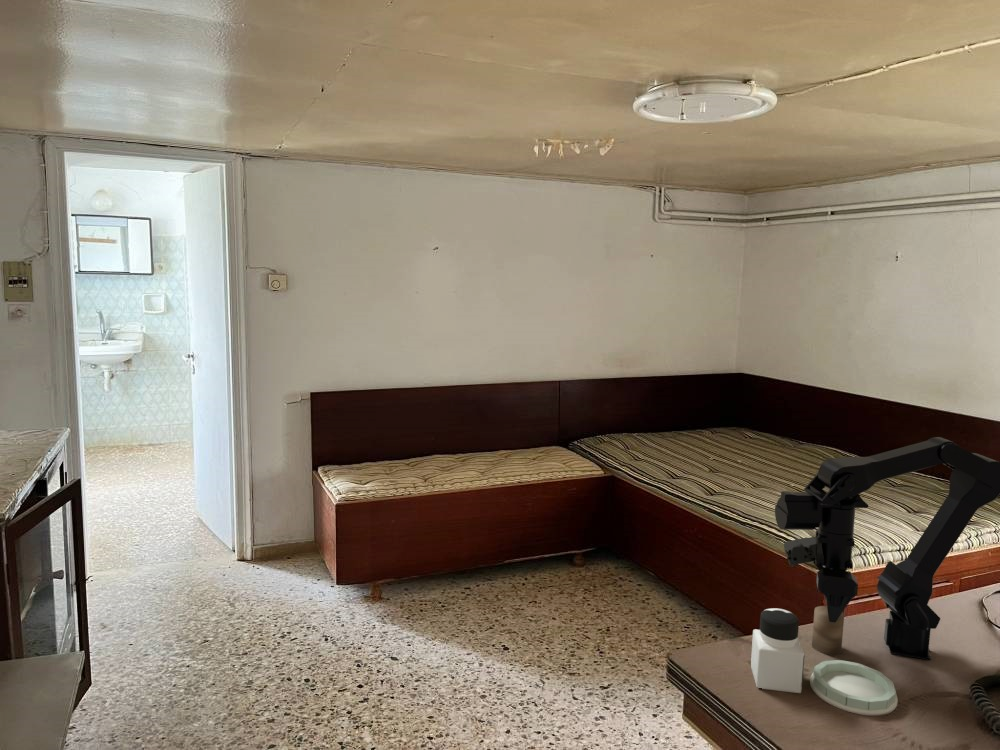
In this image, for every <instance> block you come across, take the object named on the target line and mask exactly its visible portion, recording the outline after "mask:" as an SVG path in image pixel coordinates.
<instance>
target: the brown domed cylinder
mask: <svg viewBox="0 0 1000 750" xmlns="http://www.w3.org/2000/svg"><path fill="white" fill-rule="evenodd" d="M844 623H845V614H844V611H843V612H842V614H841V615H840V617H839V618H838V620H837V621H836V622H835V623H834V622H830V621H829V618H828V610H827V605H819V606H816V607H814V613H813V623H812V624H813V625H812V639H811V647H812V648H813V649H814V650H815V651H816V652H818V653H821V654H825V655H827V656H828V655H829V656H837V655H839V654H840V655H841V653H842V648H843V647H842V646H843V637H844V636H843V635H844V626H845V625H844Z"/></svg>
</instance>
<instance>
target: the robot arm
mask: <svg viewBox="0 0 1000 750" xmlns="http://www.w3.org/2000/svg"><path fill="white" fill-rule="evenodd" d="M939 465H944V466H946V467H948V468H950V469H952V471H951V473H950V476H949V487H948V494H947V496H946V497H945V500H944V501H943V503H942V504H941V506H940V507H939V509H937V512H936V513H935V514H934V515H933V516H934V517H933V518H932V519H931V521H930V522H929V524H928V525H927V527H926V529H925V530H924V532H923V533H922V534H921V536H920V537H919V539H918V541H916V543H915V545H914V547H913V548H912V550H911V551H910V553H909V554H908V556H907V557H906V558H905V559H904V560H902V561H900V562H899V563H897V564H896V563H894V562H893V561H891V560H890V561H888V562H887V563H886V565H885V567H884V569H883V571H882V572H881V574H879V575H878V576H876V578H877V580H878V582H877V584H876V590H877V594H878V596H879V597H880V599H882V600H883V602H884V605H885V607H886V608H887V609H889V616H888V617H889V618H886V619H885V624H884V634H883V639H884V644H885V645H886V646H887V648H888V651H889V653H891V655H892V654H893V655H899V656H902V657H903V656H904V657H909V658H916V659H921V660H928V661H930V660H931V658H932V657H931V654H930V652H929V649H930V641H931V640H930V639H931V629H933V630H934V629H937V628H938V625H939V623H940V621H941V617H940V616H939V615H938V614H937V613H936V612H935V611H934V610H933V609H932V608H931V607H930V606H929V602H930V601H931V597H932V595H933V587H934V586H933V585H934V576H935V574H936V572H937V571H938V569H939V568H940V566H942V563H943V562H944V560H945V559H946V558H947V556H948V555H949V553H950V551H951V550H952V548H953V547H954V546H955V544H956V543H957V540H958V539H959V538H960V536H961V535H962V533H963V532H964V530H965V529H966V527H967V526H968V524H969V523H970V521H971V520H972V518H973V517H974V515H975V514H976V513H977V511H978V510H979V509H980V508H982V507H984V506H986V505H987V504H990V503H991V502H994V501H996V499H997V498H998V497H999V496H1000V461H998V460H995V459H992V458H990V457H987V456H984V455H982V454H980V453H976V452H970V451H968V450H966V449H965V448H962V447H961V446H959V445H958V444H957V443H955V442H954V441H951V440H949V439H946V438H943V437H940V436H937V437H936V436H934V437H930V438H929V439H927V440H924V441H919V442H918V443H913V444H910V445H905V446H902V447H899V448H896V449H891V450H887V451H884V452H880V453H876V454H872V455H869V456H868V455H867V456H842V457H832V458H828V459H825V460H824V461H822V462H821V465H819V468H818V471H817V473H816V474H815V476H813V478H812V479H811V480H810V481H809V482H808V483H807V485H806V486H805V487H804V489H803V490H804V492H803V491H802V492H795V491H794V492H793V491H789V490H788V491H787V490H783V491H781V493H780V497H779V498H778V499H777V502H776V504H775V506H774V515H775V516H774V517H775V522H776V524H777V527H778V528H779V530H782V531H783V530H785V531H786V530H787V531H789V530H794V531H795V530H796V531H800V530H801V531H805V530H806V531H814V530H815V529H816V528H817V530H815V536H811V537H810V536H809V537H803V538H798V539H797V538H796V539H793V540H787V541H785V542H784V543H783V546H784V547H783V549H784V552H785V556H786V559H787V562H788V565H789V566H791V567H795V566H798V565H801V564H807V563H813V564H814V565H815V567H817V569H818V571H817V572H816V587H817V591H818V592H819V593H821V594H822V595H824V600H825V601H826V606H827V610H828V618H829V621H830V622H834V623H835V622H836V621H837V620H838V618H839V617H840V615H841V614H842V612H843V613H844V611H845V610H846V608H847V607H848V605H849V604H850V602H851V601H852V599H853V598H855V597H856V596H858V590H859V589H858V588H859V582H858V580H857V577H856V576H855V575H854V574H853V573H852V572H851V571H848V569H853V567H854V564H853V563H854V561H853V560H852V557H853V547H855V542H856V541H855V539H854V530H855V516H856V509H868V508H869V504H868V503H867V502H865V500H864V499H863V498H862V497H861V495H860V494H862V493H864V492H867V491H868V490H870V489H872V487H873V486H874V485H876V484H877V483H879V482H881V481H884V480H888V479H890V478H891V479H892V478H895V477H898V476H902V475H907V474H910V473H914V472H917V471H921V470H925V469H928V468H929V469H930V468H932V467H936V466H939ZM824 489H827V490H828V491H825V490H824Z"/></svg>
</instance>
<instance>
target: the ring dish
mask: <svg viewBox="0 0 1000 750" xmlns="http://www.w3.org/2000/svg"><path fill="white" fill-rule="evenodd" d="M809 684H810V687H811V690H812V691H813V692H814V694H816V696H817V697H818V698H820V699H821V700H822V701H824V702H826V703H828V704H829V705H831V706H833V707H835V708H838V709H840V710H842V711H845V712H849V713H853V714H856V715H862V716H884V715H888V714H890V713H892V712H894V711H896V710H895V709H896V708H897V707H898V701H899V699H898V695H897V691H896V687H895V685H894V682H893V681H892V680H891V679H889V677H887V676H886V675H885V674H883V673H882V672H881V671H879V670H877V669H874V668H871V667H869V666H866V664H862V663H859V662H853V661H847V660H841V659H835V660H823V661H821V662H820V663H819V664H817V665H815V666H814V667H813V672H812V674H811V675H810V679H809Z"/></svg>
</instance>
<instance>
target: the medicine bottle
mask: <svg viewBox="0 0 1000 750" xmlns="http://www.w3.org/2000/svg"><path fill="white" fill-rule="evenodd" d="M759 618H760V620H759V629H756V628H755V629H753V630H752V643H751V644H752V645H751V656H750V657H751V660H750V667H751V672H752V675H753V679H754V682H755V685H756V688H757V687H758V688H757V689H759V688H762V689H761V690H770V691H777V692H786V693H793V694H801V693H802V691H803V690H802V689H803V679H804V665H805V653H804V650H803V648H802V645H801V644H800V640H799V626H800V619H799V618H798V616H797V615H796V614H794V613H792V612H791V611H789V610H786V609H783V608H776V607H775V608H774V607H773V608H772V607H771V608H766V609H764V610H763V611H761V613H760V617H759Z"/></svg>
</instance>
